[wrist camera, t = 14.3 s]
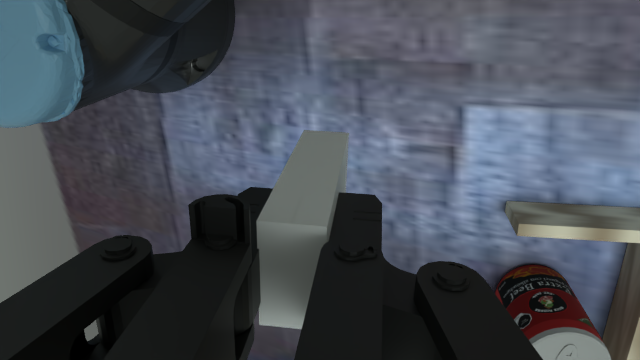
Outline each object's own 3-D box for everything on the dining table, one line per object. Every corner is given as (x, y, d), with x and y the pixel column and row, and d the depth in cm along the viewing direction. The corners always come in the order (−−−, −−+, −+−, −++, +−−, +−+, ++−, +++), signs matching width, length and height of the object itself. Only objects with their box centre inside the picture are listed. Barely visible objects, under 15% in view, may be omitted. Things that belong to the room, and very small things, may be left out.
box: (481, 363, 55) (489, 397, 50) (506, 200, 47) (518, 223, 43) (604, 375, 53) (624, 411, 49) (650, 208, 46) (679, 232, 41)
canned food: (567, 258, 49) (613, 328, 39) (569, 322, 52) (613, 404, 41) (489, 265, 50) (513, 335, 40) (495, 328, 53) (519, 408, 43)
